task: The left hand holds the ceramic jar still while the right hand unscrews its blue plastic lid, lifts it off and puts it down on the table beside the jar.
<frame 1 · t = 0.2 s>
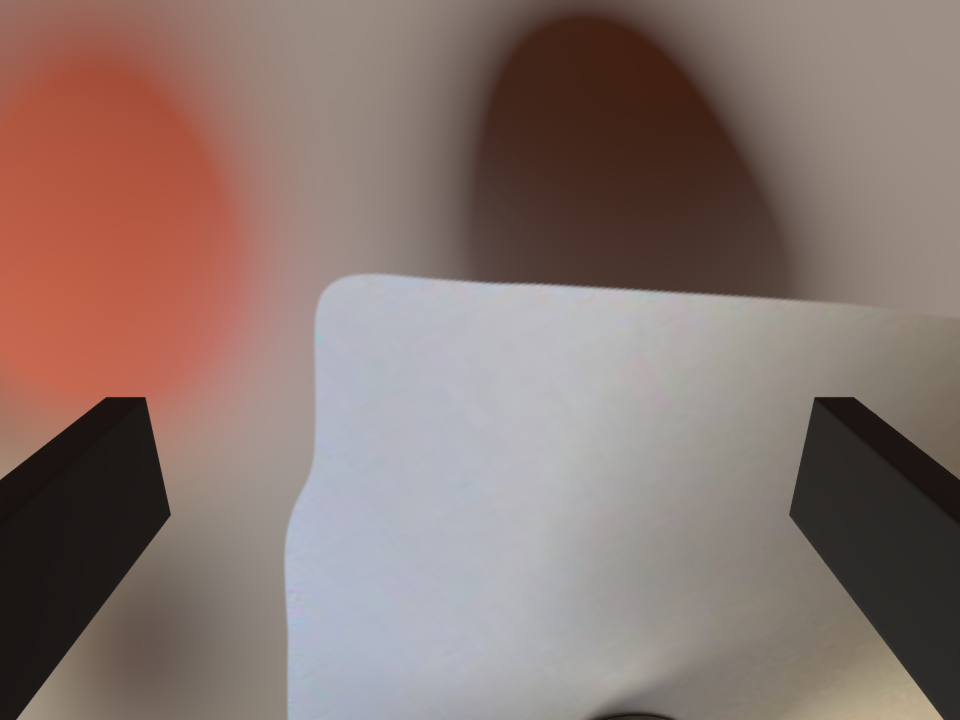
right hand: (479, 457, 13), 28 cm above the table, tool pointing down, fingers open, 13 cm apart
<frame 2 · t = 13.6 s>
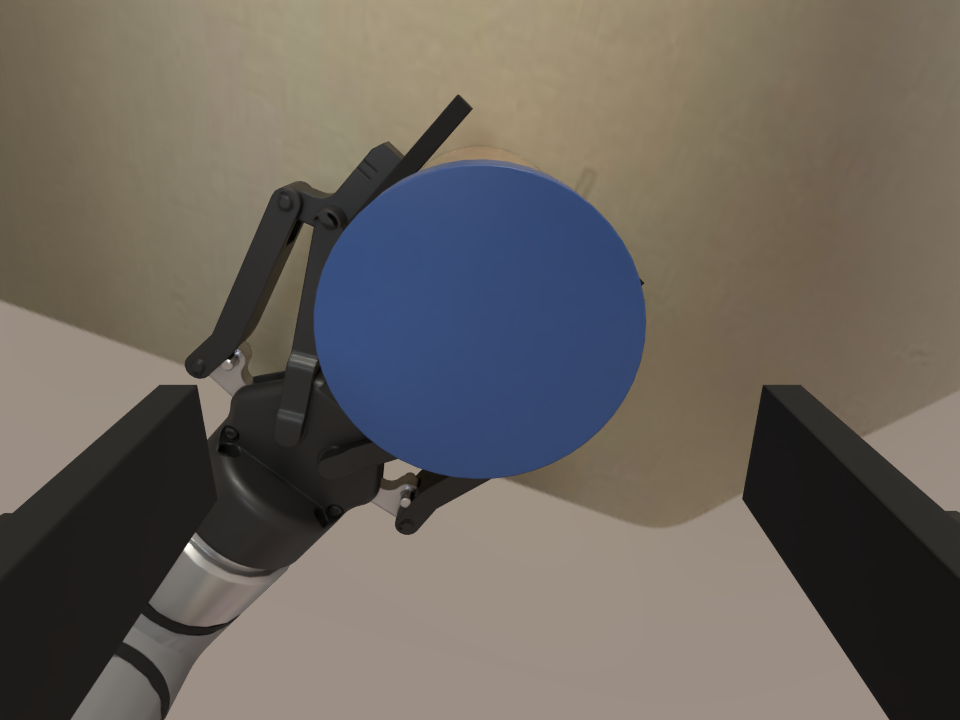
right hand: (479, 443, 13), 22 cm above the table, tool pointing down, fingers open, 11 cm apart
left hand: (552, 189, 27), fingers closed on jar, 9 cm apart
jar: (479, 237, 34), on the table, touching left hand
lid: (479, 333, 20), point 15 cm above the table, screwed on, not yet turned
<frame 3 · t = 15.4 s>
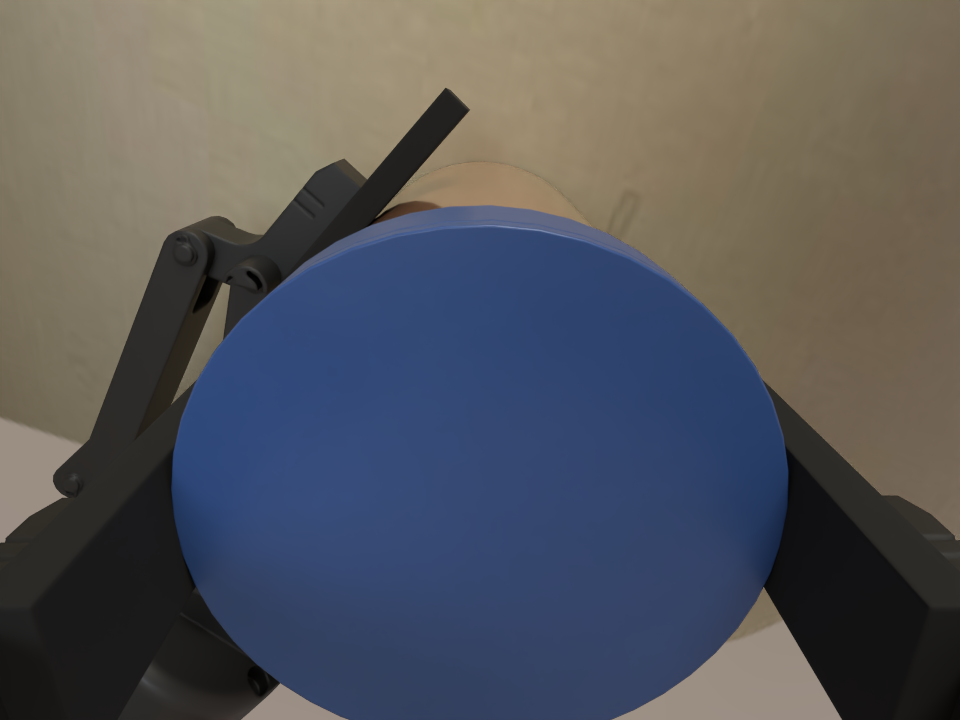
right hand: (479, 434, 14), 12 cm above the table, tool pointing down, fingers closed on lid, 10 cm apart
jar: (480, 284, 25), on the table, touching left hand
lid: (479, 518, 11), point 15 cm above the table, screwed on, not yet turned, touching right hand
when the right hand's fingers open (13 cm above the table, at t = 17.0 s): lid stays where it is, point 16 cm above the table.
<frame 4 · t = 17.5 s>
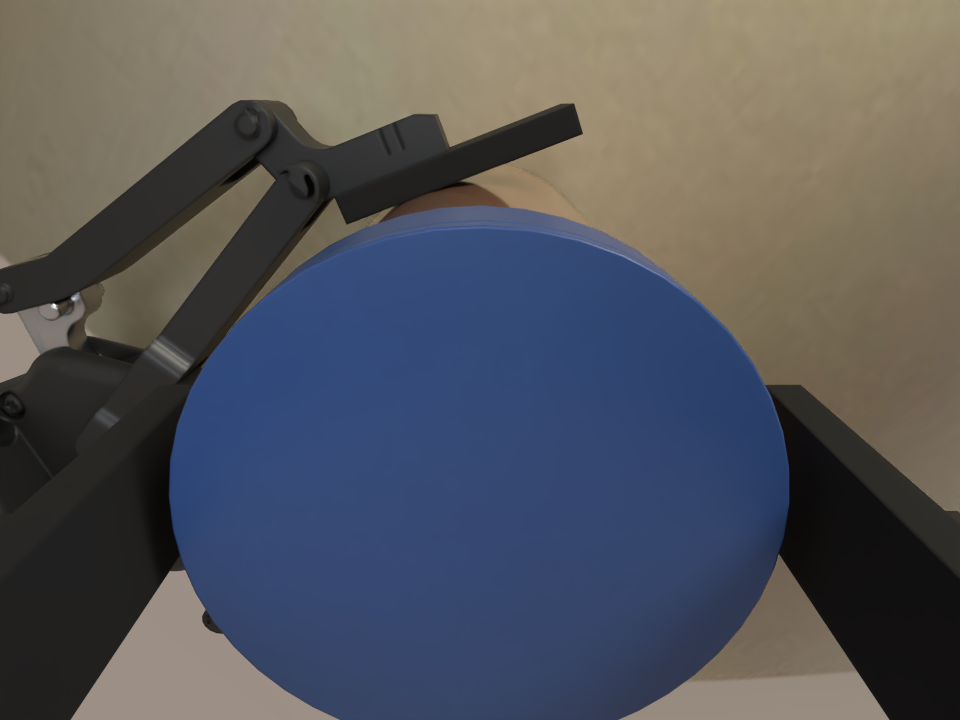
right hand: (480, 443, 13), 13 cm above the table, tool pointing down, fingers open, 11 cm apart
left hand: (621, 287, 19), fingers closed on jar, 9 cm apart
jar: (479, 283, 25), on the table, touching left hand
lid: (479, 521, 11), point 16 cm above the table, turned 87° so far, risen 0.2 cm, still on its thread
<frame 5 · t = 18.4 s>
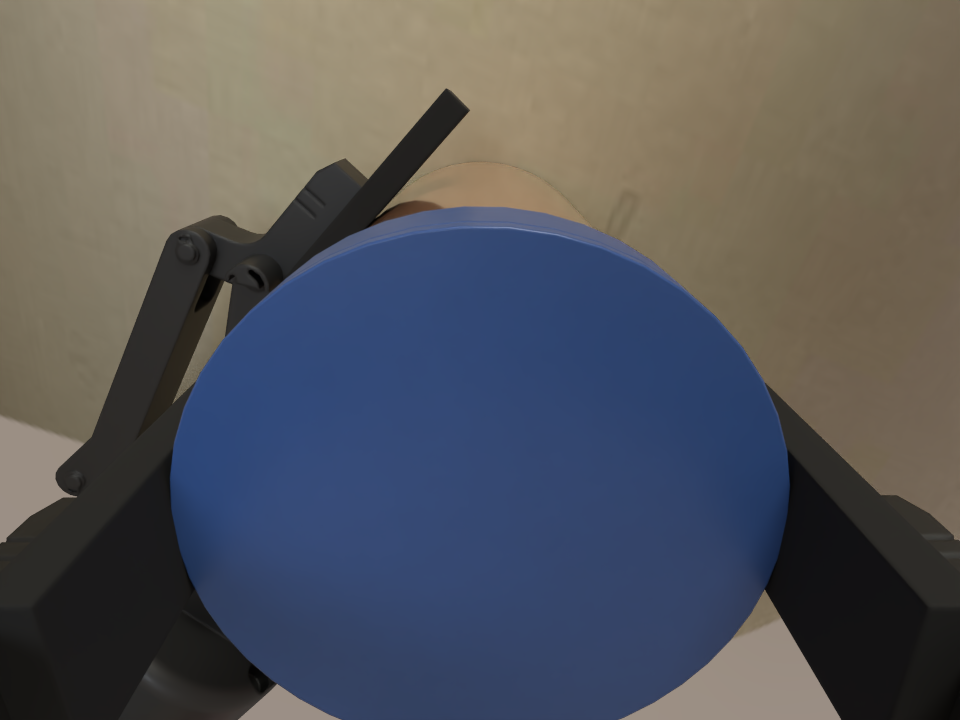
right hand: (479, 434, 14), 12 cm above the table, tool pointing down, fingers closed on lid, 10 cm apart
jar: (479, 283, 25), on the table, touching left hand
lid: (479, 521, 11), point 16 cm above the table, turned 87° so far, risen 0.2 cm, still on its thread, touching right hand
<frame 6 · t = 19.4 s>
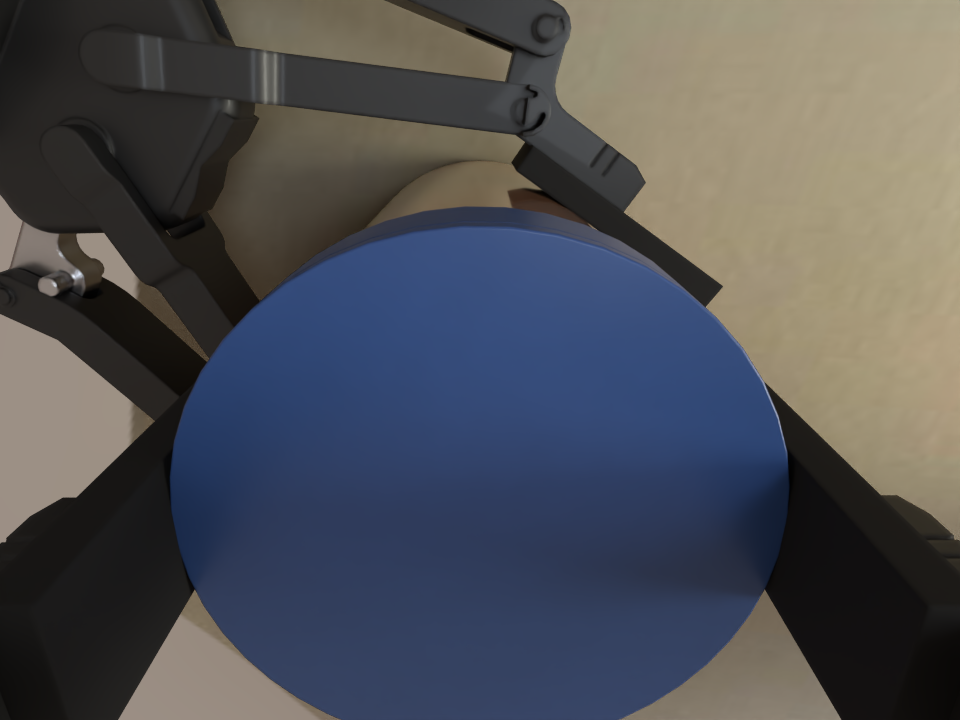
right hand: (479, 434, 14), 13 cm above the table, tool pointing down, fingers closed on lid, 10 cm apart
left hand: (593, 408, 20), fingers closed on jar, 9 cm apart
jar: (479, 281, 25), on the table, touching left hand
lid: (479, 521, 11), point 16 cm above the table, off its thread, touching right hand
when the right hand's fingers open (0 cm above the table, at t = 23.8 s): lid drops 2 cm, point 2 cm above the table.
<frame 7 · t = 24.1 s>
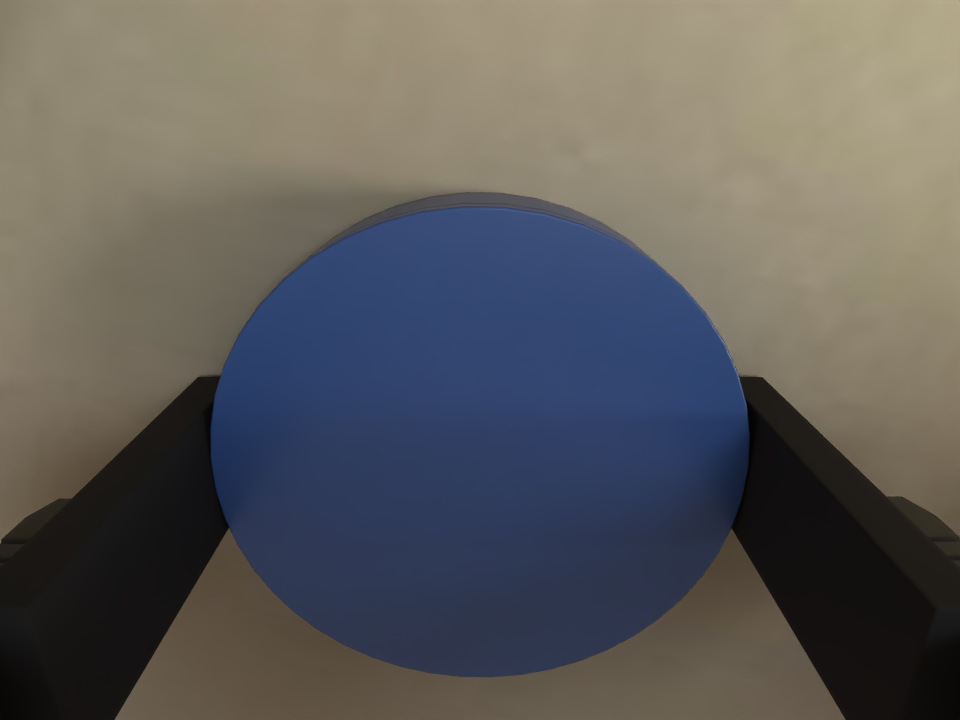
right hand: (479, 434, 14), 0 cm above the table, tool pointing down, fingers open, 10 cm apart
lid: (479, 468, 12), point 2 cm above the table, off its thread, touching right hand
when the left hand's fingers open (6 cm above the table, at t = 25.4 s): jar stays where it is, on the table.
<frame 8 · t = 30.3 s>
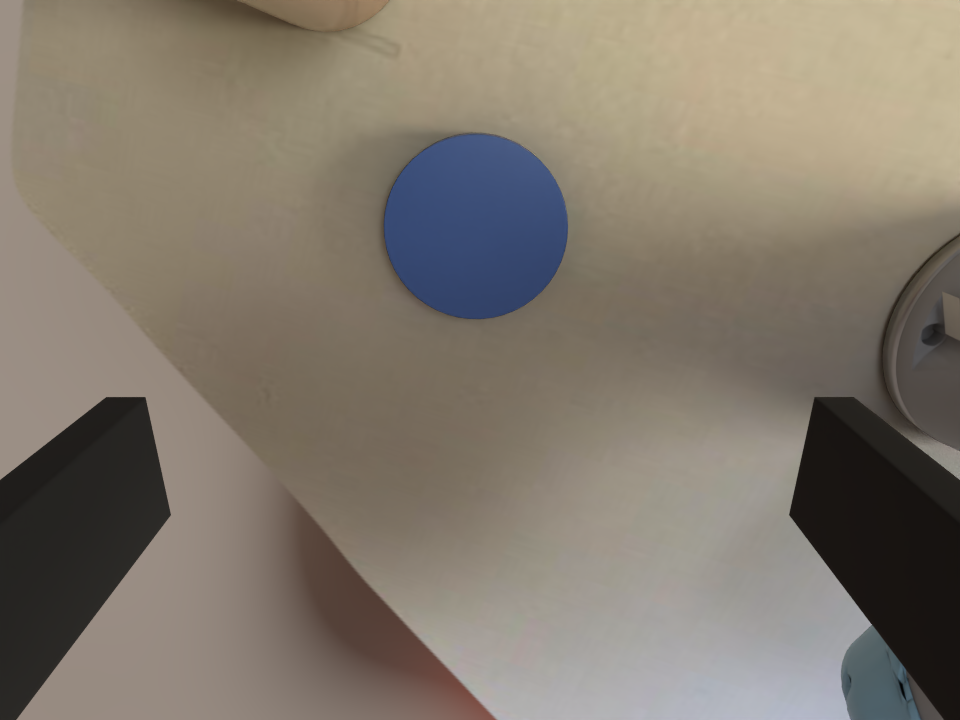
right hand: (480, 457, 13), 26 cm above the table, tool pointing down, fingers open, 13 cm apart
lid: (475, 230, 35), point 2 cm above the table, off its thread
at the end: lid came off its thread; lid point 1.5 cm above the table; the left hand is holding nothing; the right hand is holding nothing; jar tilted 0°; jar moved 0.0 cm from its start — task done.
